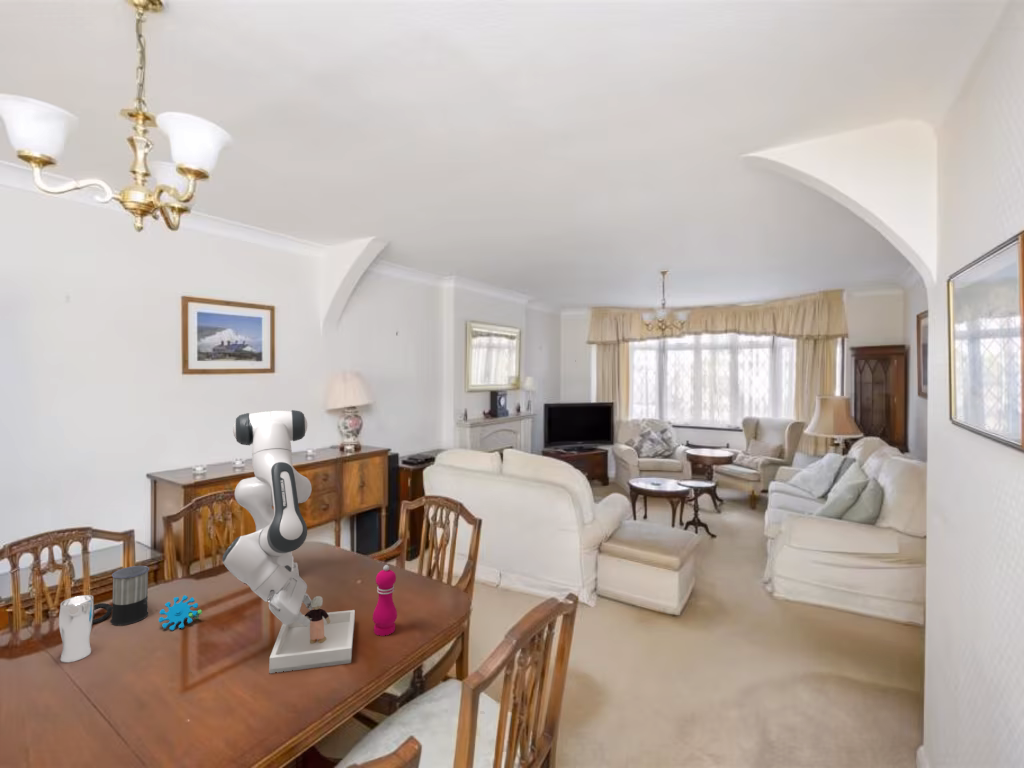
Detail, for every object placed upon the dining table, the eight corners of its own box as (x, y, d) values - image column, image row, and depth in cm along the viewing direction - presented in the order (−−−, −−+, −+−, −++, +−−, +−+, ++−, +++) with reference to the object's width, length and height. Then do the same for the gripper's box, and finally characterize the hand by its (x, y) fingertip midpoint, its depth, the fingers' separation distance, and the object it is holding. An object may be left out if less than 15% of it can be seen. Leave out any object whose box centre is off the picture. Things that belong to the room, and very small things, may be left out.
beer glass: (65, 651, 130) (66, 596, 130) (97, 646, 132) (98, 592, 132) (52, 666, 123) (54, 608, 123) (86, 660, 126) (88, 603, 126)
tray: (284, 630, 144) (285, 616, 144) (354, 622, 149) (354, 609, 149) (269, 673, 123) (269, 658, 123) (350, 663, 128) (351, 648, 128)
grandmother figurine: (330, 635, 140) (331, 592, 140) (329, 642, 136) (331, 598, 136) (301, 639, 137) (302, 595, 137) (300, 646, 134) (301, 601, 133)
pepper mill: (367, 630, 145) (369, 564, 145) (388, 622, 150) (389, 558, 150) (380, 639, 140) (382, 571, 140) (401, 630, 145) (403, 565, 145)
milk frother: (151, 619, 148) (152, 571, 148) (82, 637, 137) (84, 586, 137) (142, 603, 158) (143, 558, 158) (78, 619, 147) (79, 571, 147)
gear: (151, 628, 140) (167, 593, 147) (155, 634, 144) (171, 600, 151) (193, 629, 142) (206, 595, 149) (196, 636, 146) (209, 602, 153)
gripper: (275, 591, 123) (315, 624, 126) (289, 562, 143) (323, 591, 146) (256, 610, 122) (296, 643, 125) (272, 578, 142) (307, 607, 145)
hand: (311, 615), depth 136 cm, fingers open, 8 cm apart
